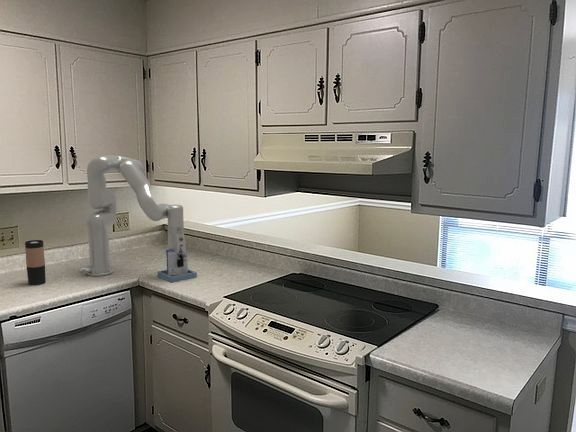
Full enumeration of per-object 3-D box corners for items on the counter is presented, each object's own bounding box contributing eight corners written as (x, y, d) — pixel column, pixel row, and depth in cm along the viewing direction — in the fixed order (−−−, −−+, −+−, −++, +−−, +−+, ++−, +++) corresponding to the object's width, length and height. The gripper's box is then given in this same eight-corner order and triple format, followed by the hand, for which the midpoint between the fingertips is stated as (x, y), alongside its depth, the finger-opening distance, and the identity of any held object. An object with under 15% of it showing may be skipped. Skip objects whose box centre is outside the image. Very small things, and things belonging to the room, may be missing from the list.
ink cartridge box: (185, 270, 238) (185, 243, 235) (188, 274, 233) (188, 245, 230) (166, 272, 234) (165, 244, 231) (168, 276, 229) (167, 247, 226)
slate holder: (171, 282, 223) (171, 277, 223) (157, 276, 234) (157, 271, 233) (196, 277, 233) (196, 272, 233) (182, 271, 243) (182, 266, 243)
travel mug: (26, 282, 220) (23, 241, 217) (44, 279, 225) (41, 239, 222) (29, 286, 214) (26, 244, 211) (48, 283, 219) (45, 241, 216)
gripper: (191, 231, 226) (192, 267, 229) (173, 226, 238) (174, 260, 241) (178, 233, 221) (178, 270, 224) (160, 228, 233) (161, 263, 236)
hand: (176, 265), depth 232 cm, fingers closed on ink cartridge box, 6 cm apart
